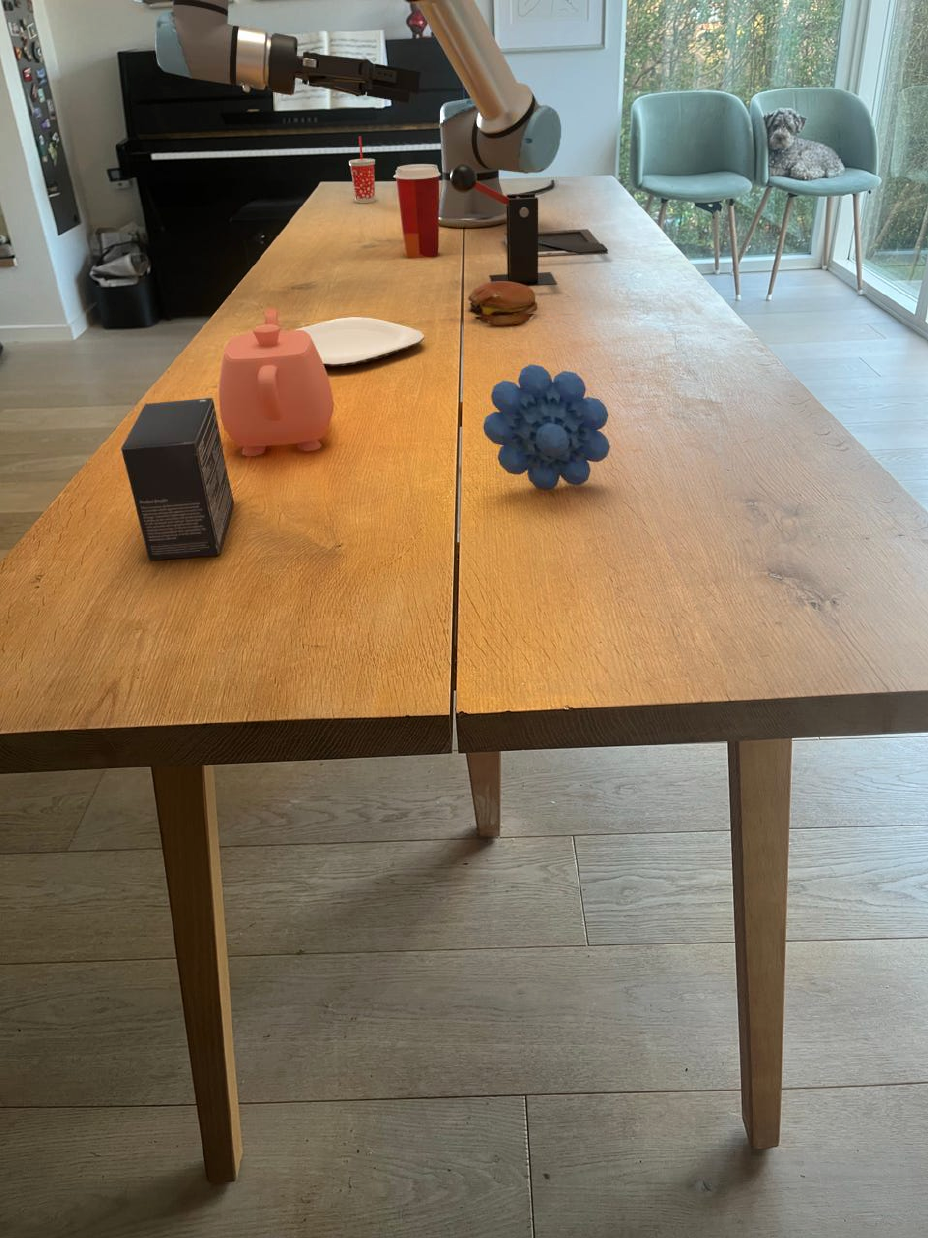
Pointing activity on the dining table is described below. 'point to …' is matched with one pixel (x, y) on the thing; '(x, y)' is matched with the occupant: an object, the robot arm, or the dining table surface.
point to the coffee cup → (419, 208)
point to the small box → (179, 479)
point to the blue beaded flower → (547, 427)
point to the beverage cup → (363, 178)
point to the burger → (502, 302)
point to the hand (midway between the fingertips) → (414, 88)
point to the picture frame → (568, 243)
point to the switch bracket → (523, 243)
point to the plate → (359, 340)
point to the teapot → (274, 389)
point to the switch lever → (473, 183)
